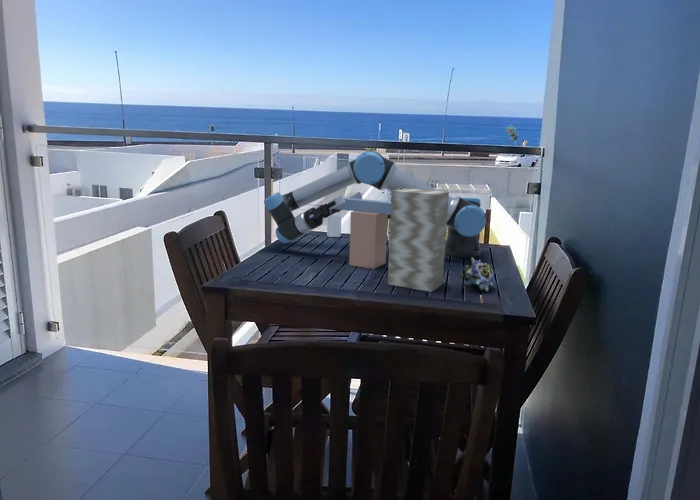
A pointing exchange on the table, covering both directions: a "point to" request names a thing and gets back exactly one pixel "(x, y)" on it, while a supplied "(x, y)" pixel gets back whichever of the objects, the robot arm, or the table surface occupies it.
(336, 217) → the can
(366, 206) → the bar
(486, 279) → the passion flower
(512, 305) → the table surface
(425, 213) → the stand
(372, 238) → the block
